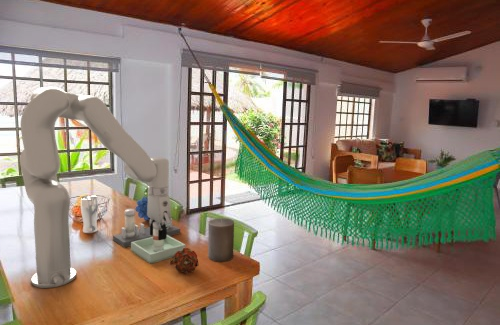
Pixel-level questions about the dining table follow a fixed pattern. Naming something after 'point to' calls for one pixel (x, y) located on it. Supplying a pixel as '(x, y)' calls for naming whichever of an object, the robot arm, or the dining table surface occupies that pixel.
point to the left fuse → (130, 223)
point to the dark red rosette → (185, 260)
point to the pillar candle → (221, 239)
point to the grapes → (142, 208)
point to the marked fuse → (157, 243)
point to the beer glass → (89, 213)
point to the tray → (146, 251)
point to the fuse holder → (141, 234)
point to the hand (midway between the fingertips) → (158, 236)
